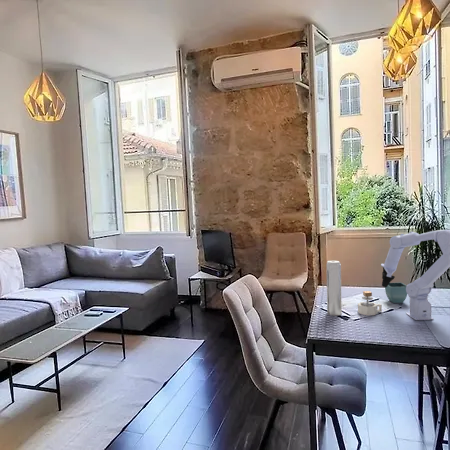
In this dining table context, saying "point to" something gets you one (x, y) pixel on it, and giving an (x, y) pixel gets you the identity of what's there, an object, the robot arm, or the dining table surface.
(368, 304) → the plunger
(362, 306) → the press carafe
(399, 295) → the flower pot
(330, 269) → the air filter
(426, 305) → the robot arm
